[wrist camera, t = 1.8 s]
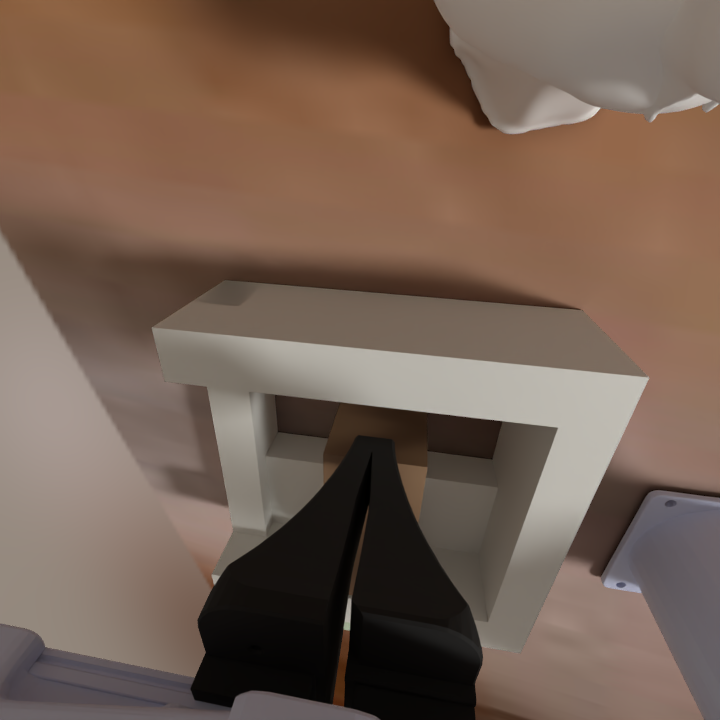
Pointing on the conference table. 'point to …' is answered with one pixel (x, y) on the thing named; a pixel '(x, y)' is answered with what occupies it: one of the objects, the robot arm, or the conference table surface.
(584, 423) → the frame
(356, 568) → the bar
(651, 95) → the figurine
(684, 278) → the conference table surface
